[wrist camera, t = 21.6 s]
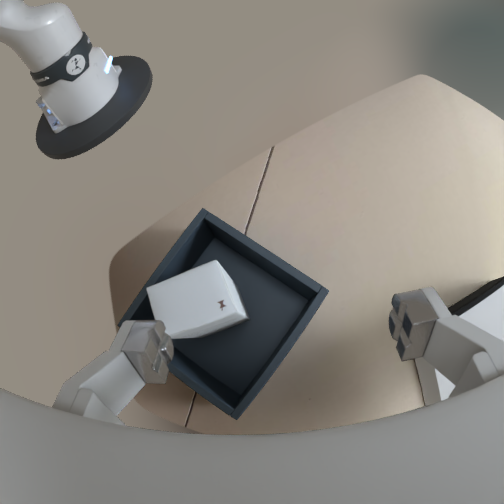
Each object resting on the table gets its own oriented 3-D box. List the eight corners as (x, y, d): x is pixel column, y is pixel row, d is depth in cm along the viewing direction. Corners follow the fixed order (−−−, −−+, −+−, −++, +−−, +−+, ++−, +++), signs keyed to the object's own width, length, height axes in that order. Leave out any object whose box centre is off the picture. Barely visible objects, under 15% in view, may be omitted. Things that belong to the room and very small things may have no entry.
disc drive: (490, 280, 30) (511, 272, 26) (513, 406, 24) (532, 410, 19) (403, 330, 30) (423, 329, 25) (432, 469, 24) (449, 482, 19)
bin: (144, 327, 32) (117, 325, 25) (214, 230, 35) (202, 207, 28) (243, 403, 29) (236, 420, 22) (317, 299, 32) (329, 290, 25)
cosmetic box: (237, 284, 32) (218, 257, 20) (250, 320, 31) (239, 313, 19) (187, 303, 32) (143, 286, 20) (199, 338, 30) (160, 341, 19)
